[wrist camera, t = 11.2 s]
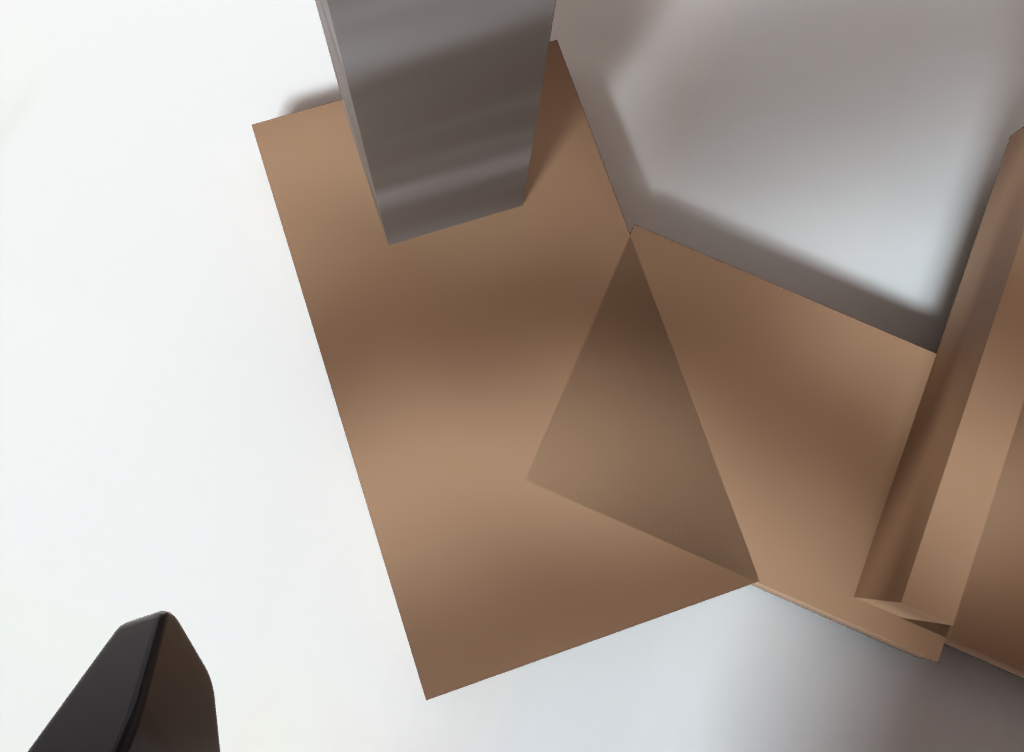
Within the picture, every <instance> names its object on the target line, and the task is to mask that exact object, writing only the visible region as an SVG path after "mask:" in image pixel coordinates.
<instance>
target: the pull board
mask: <svg viewBox="0 0 1024 752" xmlns="http://www.w3.org/2000/svg"><path fill="white" fill-rule="evenodd" d="M315 1H316V5H317V9H318V12H319V16H320V20H321V23H322V27H323V31H324V34H325V38H326V42H327V45H328V49H329V53H330V56H331V60H332V64H333V67H334V71H335V75H336V78H337V82H338V86H339V89H340V93H341V97H342V100H339V101H335V102H332V103H328V104H325V105H321V106H317V107H314V108H310V109H307V110H303V111H299V112H296V113H292V114H289V115H285V116H281V117H278V118H274V119H271V120H267V121H263V122H260V123H256V124H253V125H252V127H253V131H254V134H255V137H256V141H257V144H258V147H259V150H260V154H261V157H262V160H263V164H264V167H265V170H266V174H267V177H268V180H269V183H270V187H271V190H272V193H273V197H274V200H275V203H276V206H277V210H278V213H279V216H280V220H281V223H282V226H283V230H284V233H285V236H286V239H287V243H288V246H289V249H290V253H291V256H292V259H293V263H294V266H295V269H296V272H297V276H298V279H299V282H300V286H301V289H302V292H303V295H304V299H305V302H306V305H307V309H308V312H309V315H310V319H311V322H312V325H313V328H314V332H315V335H316V338H317V342H318V345H319V348H320V352H321V355H322V358H323V361H324V365H325V368H326V371H327V375H328V378H329V381H330V384H331V388H332V391H333V394H334V398H335V401H336V404H337V408H338V411H339V414H340V417H341V421H342V424H343V427H344V431H345V434H346V437H347V441H348V444H349V447H350V450H351V454H352V457H353V460H354V464H355V467H356V470H357V474H358V477H359V480H360V483H361V487H362V490H363V493H364V497H365V500H366V503H367V506H368V510H369V513H370V516H371V520H372V523H373V526H374V530H375V533H376V536H377V539H378V543H379V546H380V549H381V553H382V556H383V559H384V563H385V566H386V569H387V572H388V576H389V579H390V582H391V586H392V589H393V592H394V595H395V599H396V602H397V605H398V609H399V612H400V615H401V619H402V622H403V625H404V628H405V632H406V635H407V638H408V642H409V645H410V648H411V652H412V655H413V658H414V661H415V665H416V668H417V671H418V675H419V678H420V681H421V684H422V688H423V691H424V694H425V698H426V700H428V699H431V698H434V697H437V696H440V695H442V694H445V693H448V692H451V691H454V690H456V689H459V688H462V687H465V686H468V685H470V684H473V683H476V682H479V681H482V680H484V679H487V678H490V677H493V676H496V675H498V674H501V673H504V672H507V671H509V670H512V669H515V668H518V667H521V666H523V665H526V664H529V663H532V662H535V661H537V660H540V659H543V658H546V657H549V656H551V655H554V654H557V653H560V652H563V651H565V650H568V649H571V648H574V647H577V646H579V645H582V644H585V643H588V642H591V641H593V640H596V639H599V638H602V637H605V636H607V635H610V634H613V633H616V632H619V631H621V630H624V629H627V628H630V627H633V626H635V625H638V624H641V623H644V622H646V621H649V620H652V619H655V618H658V617H660V616H663V615H666V614H669V613H672V612H674V611H677V610H680V609H683V608H686V607H688V606H691V605H694V604H697V603H700V602H702V601H705V600H708V599H711V598H714V597H716V596H719V595H722V594H725V593H728V592H730V591H733V590H736V589H739V588H742V587H744V586H747V585H750V584H751V585H753V586H756V587H758V588H760V589H763V590H765V591H767V592H769V593H772V594H774V595H776V596H779V597H781V598H783V599H785V600H788V601H790V602H792V603H794V604H797V605H799V606H801V607H804V608H806V609H808V610H810V611H813V612H815V613H817V614H819V615H822V616H824V617H826V618H829V619H831V620H833V621H835V622H838V623H840V624H842V625H844V626H847V627H849V628H851V629H854V630H856V631H858V632H860V633H863V634H865V635H867V636H869V637H872V638H874V639H876V640H879V641H881V642H883V643H885V644H888V645H890V646H892V647H894V648H897V649H899V650H901V651H904V652H906V653H908V654H910V655H913V656H916V657H920V658H924V659H929V660H933V661H937V662H939V659H940V656H941V652H942V649H943V646H944V644H946V645H949V646H951V647H953V648H956V649H958V650H960V651H962V652H965V653H967V654H969V655H971V656H974V657H976V658H978V659H981V660H983V661H985V662H987V663H990V664H992V665H994V666H997V667H999V668H1001V669H1003V670H1006V671H1008V672H1010V673H1013V674H1015V675H1017V676H1019V677H1022V678H1024V127H1022V128H1021V129H1020V130H1018V131H1017V132H1016V133H1014V134H1013V135H1012V136H1011V137H1010V139H1009V142H1008V145H1007V148H1006V151H1005V154H1004V157H1003V160H1002V163H1001V166H1000V168H999V171H998V174H997V177H996V180H995V183H994V186H993V189H992V192H991V195H990V198H989V201H988V204H987V207H986V210H985V213H984V215H983V218H982V221H981V224H980V227H979V230H978V233H977V236H976V239H975V242H974V245H973V248H972V251H971V254H970V257H969V260H968V262H967V265H966V268H965V271H964V274H963V277H962V280H961V283H960V286H959V289H958V292H957V295H956V298H955V301H954V304H953V307H952V309H951V312H950V315H949V318H948V321H947V324H946V327H945V330H944V333H943V336H942V339H941V342H940V345H939V348H938V351H937V354H936V353H933V352H931V351H929V350H926V349H924V348H922V347H919V346H917V345H915V344H912V343H910V342H908V341H905V340H903V339H901V338H898V337H896V336H894V335H891V334H889V333H887V332H884V331H882V330H880V329H877V328H875V327H873V326H870V325H868V324H866V323H863V322H861V321H859V320H856V319H854V318H852V317H849V316H847V315H845V314H842V313H840V312H838V311H835V310H833V309H831V308H828V307H826V306H824V305H821V304H819V303H817V302H814V301H812V300H810V299H807V298H805V297H803V296H800V295H798V294H796V293H793V292H791V291H789V290H786V289H784V288H782V287H779V286H777V285H775V284H772V283H770V282H768V281H765V280H763V279H760V278H758V277H756V276H753V275H751V274H749V273H746V272H744V271H742V270H739V269H737V268H735V267H732V266H730V265H728V264H725V263H723V262H721V261H718V260H716V259H714V258H711V257H709V256H707V255H704V254H702V253H700V252H697V251H695V250H693V249H690V248H688V247H686V246H683V245H681V244H679V243H676V242H674V241H672V240H669V239H667V238H665V237H662V236H660V235H658V234H655V233H653V232H651V231H648V230H646V229H644V228H641V227H639V226H637V225H634V227H633V229H632V231H631V233H630V234H629V231H628V228H627V226H626V223H625V220H624V218H623V215H622V212H621V210H620V207H619V204H618V202H617V199H616V196H615V194H614V191H613V188H612V186H611V183H610V180H609V178H608V175H607V172H606V170H605V167H604V164H603V162H602V159H601V156H600V154H599V151H598V148H597V146H596V143H595V140H594V138H593V135H592V132H591V130H590V127H589V124H588V122H587V119H586V116H585V114H584V111H583V108H582V106H581V103H580V100H579V98H578V95H577V92H576V90H575V87H574V84H573V82H572V79H571V76H570V74H569V71H568V68H567V66H566V63H565V60H564V58H563V55H562V52H561V50H560V47H559V44H558V42H557V40H555V41H551V42H549V40H550V34H551V28H552V22H553V16H554V10H555V4H556V0H315Z"/></svg>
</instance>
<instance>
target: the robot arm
mask: <svg viewBox="0 0 1024 752" xmlns="http://www.w3.org/2000/svg"><path fill="white" fill-rule="evenodd" d="M28 752H220V745H219V736H218V726H217V716H216V706H215V697H214V691H213V686H212V682H211V679H210V676H209V674H208V671H207V669H206V667H205V666H204V664H203V662H202V661H201V659H200V657H199V655H198V654H197V652H196V650H195V649H194V647H193V645H192V644H191V642H190V640H189V638H188V637H187V635H186V633H185V632H184V630H183V628H182V626H181V625H180V623H179V622H178V620H177V619H176V618H175V617H174V616H173V615H172V614H171V613H170V612H166V611H160V612H157V613H154V614H151V615H148V616H145V617H142V618H139V619H136V620H133V621H130V622H127V623H125V624H123V625H121V626H120V627H119V628H118V629H117V630H116V632H115V633H114V634H113V635H112V637H111V638H110V639H109V641H108V642H107V644H106V645H105V646H104V648H103V649H102V650H101V652H100V653H99V655H98V656H97V657H96V659H95V660H94V661H93V663H92V664H91V666H90V667H89V668H88V670H87V671H86V672H85V674H84V675H83V677H82V678H81V679H80V681H79V682H78V683H77V685H76V686H75V688H74V689H73V690H72V692H71V693H70V694H69V696H68V697H67V698H66V700H65V701H64V703H63V704H62V705H61V707H60V708H59V709H58V711H57V712H56V714H55V715H54V716H53V718H52V719H51V720H50V722H49V723H48V725H47V726H46V727H45V729H44V730H43V731H42V733H41V734H40V736H39V737H38V738H37V740H36V741H35V742H34V744H33V745H32V747H31V748H30V749H29V751H28Z"/></svg>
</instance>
